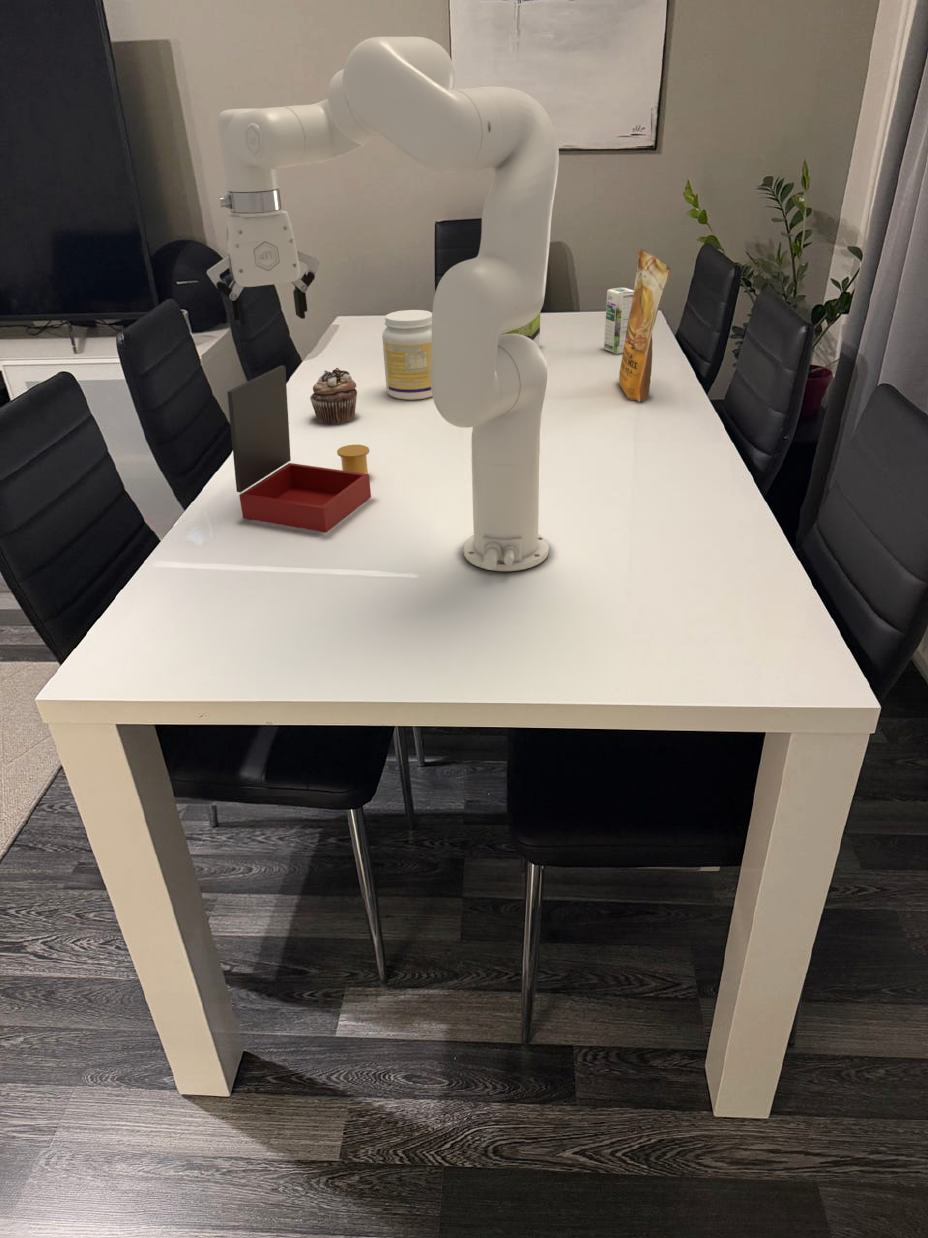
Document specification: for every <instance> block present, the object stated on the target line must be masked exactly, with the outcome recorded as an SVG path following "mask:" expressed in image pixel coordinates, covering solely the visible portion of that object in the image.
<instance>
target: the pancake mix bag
mask: <svg viewBox="0 0 928 1238" xmlns="http://www.w3.org/2000/svg"><path fill="white" fill-rule="evenodd" d="M635 271H636V272H635V277H634V285H633V291H634V292H633V301H632V306H631V311H630V315H629V320H628V325H627V332H626V338H625V344H624V350H623V353H622V356H621V362H620V367H619V373H618V381H619V386H620V388H621V389H622V391H623V393H624V395H625V396H626V398H627V399H628V400H631V401H637V402H639V403H640V402H644V401H646V400H647V401H648V399H649V394H650V388H651V377H652V371H653V369H652V368H653V330H654V327H655V324H656V320H657V316H658V312H659V309H660V305H661V300H662V298H663V296H664V292H665V290H666V287H667V285H668V283H669V280H670V278H671V272H672V270H671V268H670V266H669V265H668V264H667V263H666V261H664V260H662V259H661V258H658V257H657V256H656V255H654V254H653V253H652V252H648V251H647V250H645V249H642V248H640V249H639V250H636V270H635Z"/></svg>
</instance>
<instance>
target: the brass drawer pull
mask: <svg viewBox="0 0 928 1238" xmlns="http://www.w3.org/2000/svg"><path fill="white" fill-rule="evenodd" d="M369 453H370V447H368V446H366V445H362V444H347V445H343V446H341V447H339V448H338V449H337V450H336V455H337V456H338V457H340V460H341V470H342V471H349V472H356V473H363V474H369V468H368V458H367V455H368V454H369Z"/></svg>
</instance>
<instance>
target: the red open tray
mask: <svg viewBox="0 0 928 1238" xmlns="http://www.w3.org/2000/svg"><path fill="white" fill-rule="evenodd" d="M238 495H239V497H238V498H239V502H240V503H239V504H240V507H241V512H242V513H241V515H242V518H243V519H246V520H252V521H256V522H263V523H267V524H268V523H269V524H275V525H280V526H285V527H291V528H298V529H304V530H310V531H316V532H320V533H321V532H322V533H328V532H329V531H330V530H331V529H333V528H334V527H335V526H337V525H338V524H339V523H340V522H342V521H343V520H345V519H346V518H347V517H348V516H349V515H350V514H352V513H353V512H354V511H356V509H358V508H360V506H362V505H363V504H364V503H365V502H367V501H368V500H370V499H371V497H372V493H371V479H370V474H369V473H368V474H363V473H356V472H349V471H342V469H336V468H329V467H320V466H312V465H307V464H299V463H293V462H288V463H286V464H285V465H283V466H281V467H280V468H278V469H277V470H275V471H274V472H272V473H271V474H269V475H267V476H266V477H264V478H263V479H261V480H260V481H258V482H256V483H255V484H253V485H252V486H250V487H249V488H247V489H246V490H244V491H242V492H241V493H240V494H238Z"/></svg>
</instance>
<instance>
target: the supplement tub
mask: <svg viewBox="0 0 928 1238" xmlns="http://www.w3.org/2000/svg"><path fill="white" fill-rule="evenodd" d="M384 318H385V319H384V320H385V321H384V325H385V326H386V327H385V328H384V330H383V332H382V335H381V337H382V338H381V339H382V349H383V364H384V375H385V387H386V393H388V395H389V396H391V397H393V398H395V399H399V400H407V401H408V400H411V401H413V400H415V401H416V400H423V399H427V398H432V397H433V396H432V391H431V336H432V312H431V311H429V310H424V309H406V310H396V311H392V312H389V313H387V314H385V316H384Z"/></svg>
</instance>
